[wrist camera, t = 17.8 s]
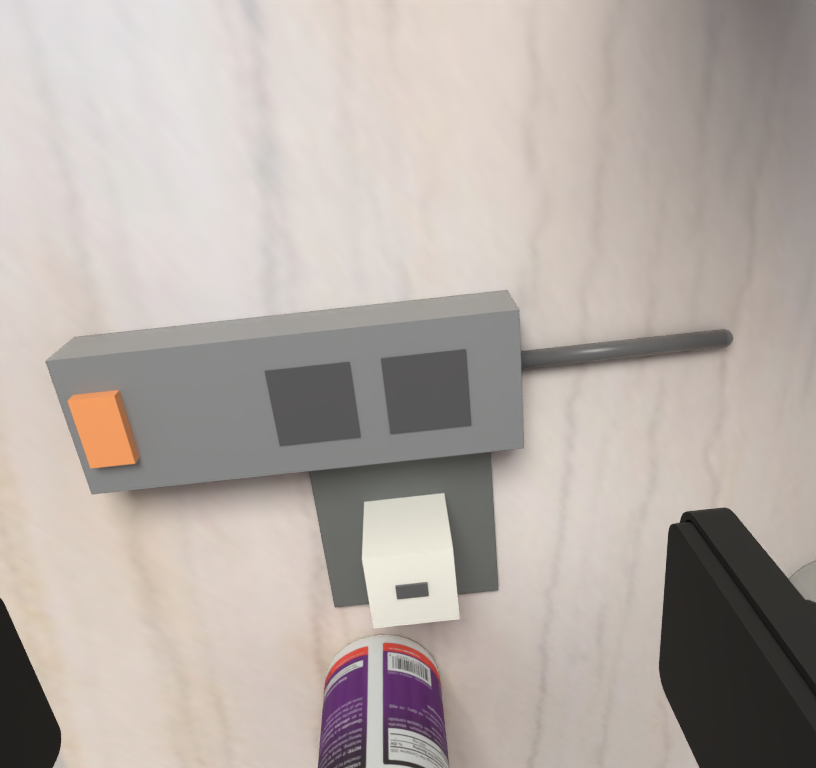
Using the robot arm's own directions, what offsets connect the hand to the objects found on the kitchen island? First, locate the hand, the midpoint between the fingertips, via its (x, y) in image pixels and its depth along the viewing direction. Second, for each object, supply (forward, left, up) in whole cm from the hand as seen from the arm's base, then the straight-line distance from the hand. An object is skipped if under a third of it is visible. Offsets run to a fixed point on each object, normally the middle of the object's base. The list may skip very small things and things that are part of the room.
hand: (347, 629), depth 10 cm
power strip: (-1, +8, -28) cm, 29 cm away
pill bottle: (+3, +31, -28) cm, 42 cm away
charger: (0, +19, -28) cm, 34 cm away
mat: (0, +19, -28) cm, 34 cm away
